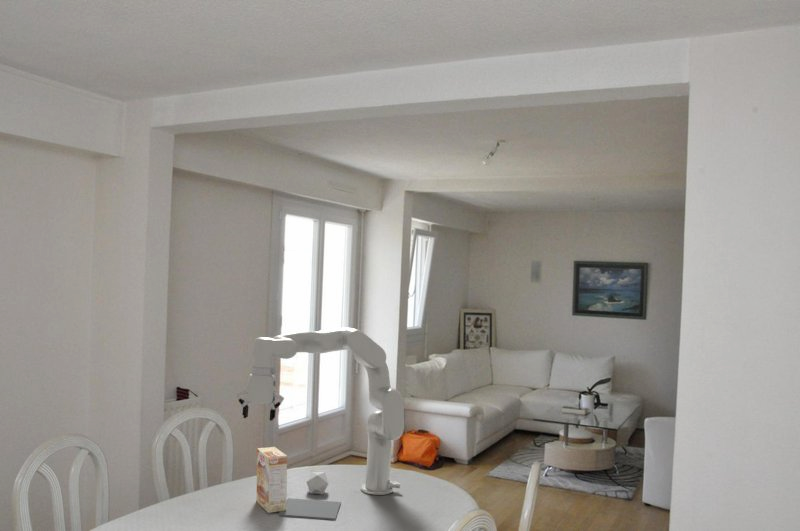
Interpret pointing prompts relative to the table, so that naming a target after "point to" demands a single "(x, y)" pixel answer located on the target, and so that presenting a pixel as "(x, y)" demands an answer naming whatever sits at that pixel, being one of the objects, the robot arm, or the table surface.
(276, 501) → the coffeecake box
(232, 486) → the table surface
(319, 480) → the die
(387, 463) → the robot arm
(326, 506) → the mat
